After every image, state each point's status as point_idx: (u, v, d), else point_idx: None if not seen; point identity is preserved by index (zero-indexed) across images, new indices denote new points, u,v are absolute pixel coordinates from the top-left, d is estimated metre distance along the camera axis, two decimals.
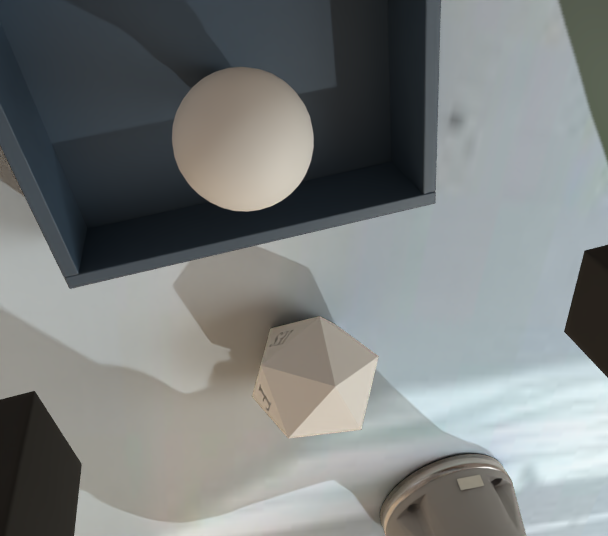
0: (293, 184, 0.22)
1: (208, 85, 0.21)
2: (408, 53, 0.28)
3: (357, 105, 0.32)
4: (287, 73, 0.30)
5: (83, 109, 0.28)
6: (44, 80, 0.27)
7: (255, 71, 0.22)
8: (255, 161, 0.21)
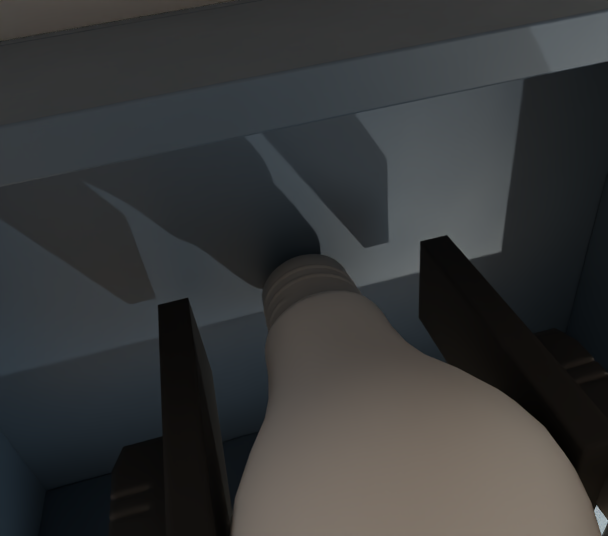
0: None
1: (352, 503, 0.07)
2: None
3: (528, 276, 0.18)
4: (419, 238, 0.16)
5: (26, 328, 0.14)
6: None
7: (479, 434, 0.07)
8: None
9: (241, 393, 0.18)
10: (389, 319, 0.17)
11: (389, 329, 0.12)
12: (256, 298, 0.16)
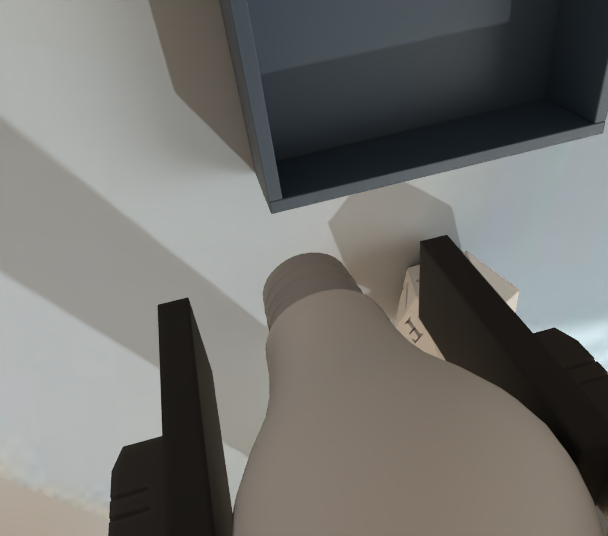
0: None
1: (353, 501, 0.07)
2: None
3: (524, 41, 0.33)
4: (468, 8, 0.31)
5: (282, 43, 0.30)
6: (254, 13, 0.29)
7: (481, 432, 0.07)
8: None
9: (371, 105, 0.33)
10: (450, 62, 0.33)
11: (390, 328, 0.12)
12: (387, 37, 0.31)
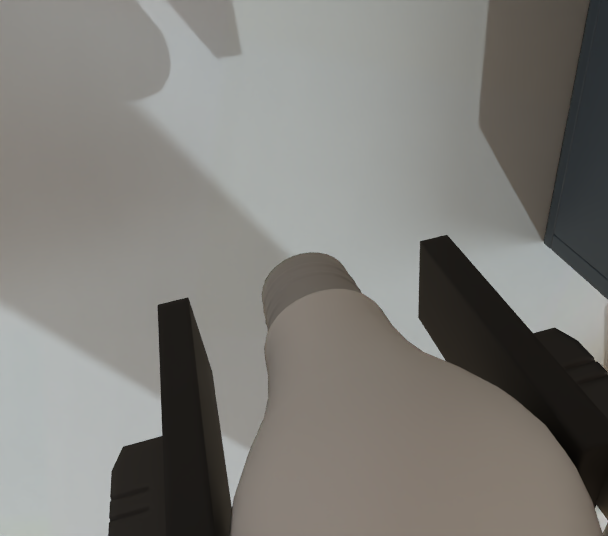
0: None
1: (351, 501, 0.07)
2: None
3: None
4: None
5: None
6: None
7: (479, 432, 0.07)
8: None
9: None
10: None
11: (389, 327, 0.12)
12: None
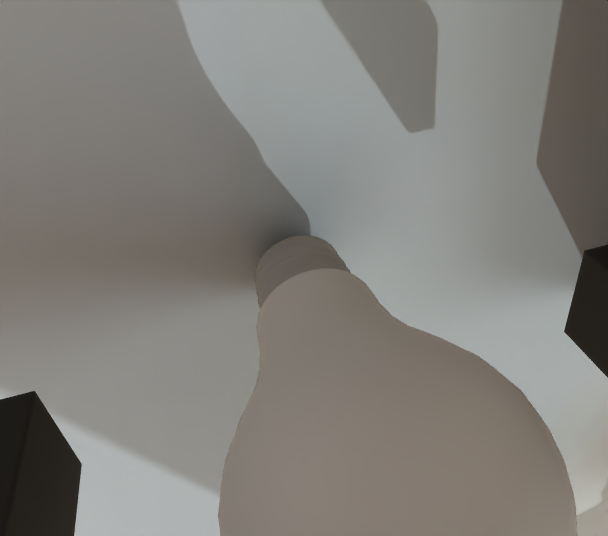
0: None
1: (333, 453, 0.07)
2: None
3: None
4: None
5: None
6: None
7: (455, 392, 0.08)
8: None
9: None
10: None
11: (376, 304, 0.12)
12: None
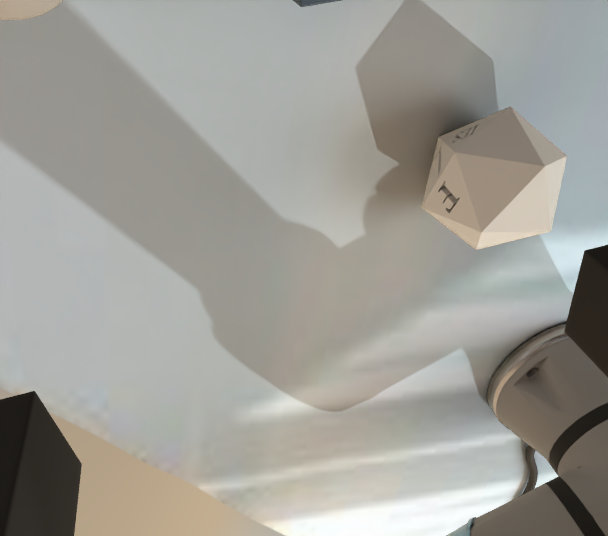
0: None
1: None
2: None
3: None
4: None
5: None
6: None
7: None
8: None
9: None
10: None
11: None
12: None
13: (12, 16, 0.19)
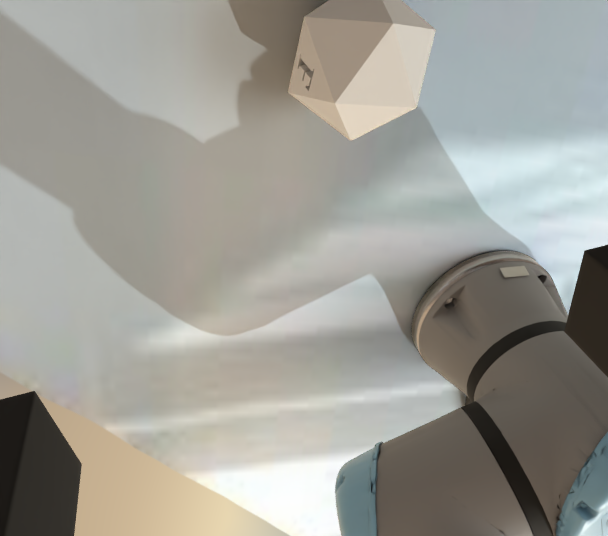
0: None
1: None
2: None
3: None
4: None
5: None
6: None
7: None
8: None
9: None
10: None
11: None
12: None
13: None
